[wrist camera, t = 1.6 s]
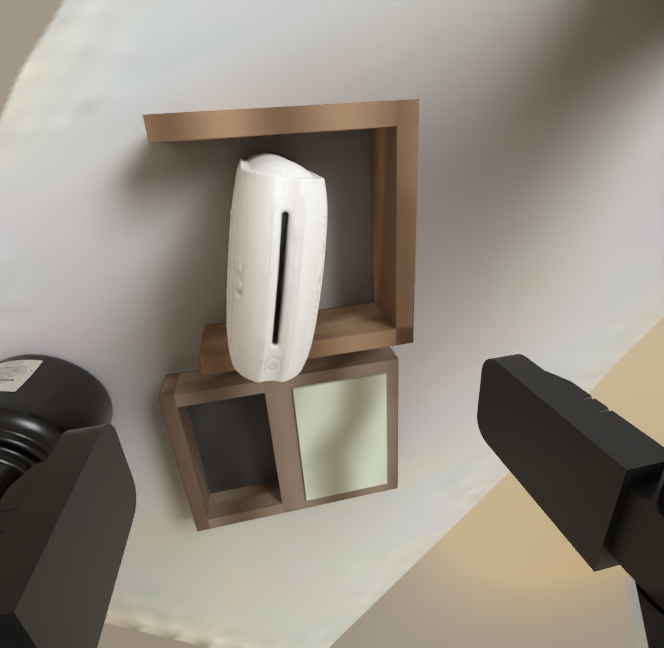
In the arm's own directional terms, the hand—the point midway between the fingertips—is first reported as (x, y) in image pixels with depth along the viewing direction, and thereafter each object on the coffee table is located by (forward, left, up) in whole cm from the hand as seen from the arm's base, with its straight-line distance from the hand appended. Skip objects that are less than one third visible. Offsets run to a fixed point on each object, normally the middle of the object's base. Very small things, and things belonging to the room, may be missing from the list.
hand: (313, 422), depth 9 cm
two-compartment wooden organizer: (0, +16, -21) cm, 26 cm away
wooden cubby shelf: (-2, 0, -21) cm, 21 cm away
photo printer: (0, 0, -21) cm, 21 cm away
